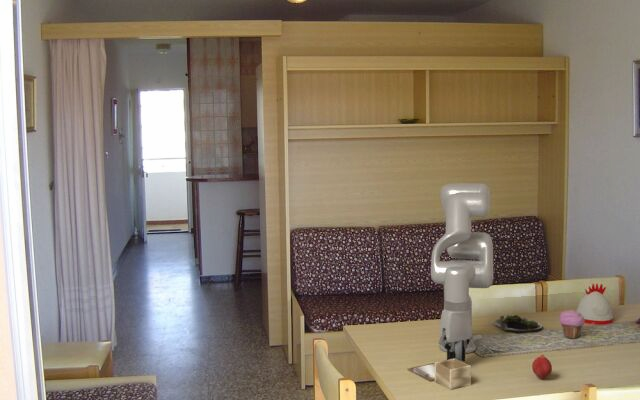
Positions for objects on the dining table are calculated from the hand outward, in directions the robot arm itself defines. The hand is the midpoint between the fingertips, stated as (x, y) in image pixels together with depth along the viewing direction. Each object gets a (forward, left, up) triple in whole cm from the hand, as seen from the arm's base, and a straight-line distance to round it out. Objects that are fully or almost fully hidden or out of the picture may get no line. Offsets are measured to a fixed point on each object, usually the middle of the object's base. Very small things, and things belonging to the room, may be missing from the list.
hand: (456, 360), depth 214 cm
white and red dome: (-86, -17, -3) cm, 87 cm away
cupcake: (-60, -6, -3) cm, 60 cm away
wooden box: (+8, +8, -3) cm, 12 cm away
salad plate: (-52, -25, -4) cm, 58 cm away
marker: (0, 0, -2) cm, 2 cm away
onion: (-18, +19, -3) cm, 26 cm away
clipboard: (+5, -2, -3) cm, 6 cm away
